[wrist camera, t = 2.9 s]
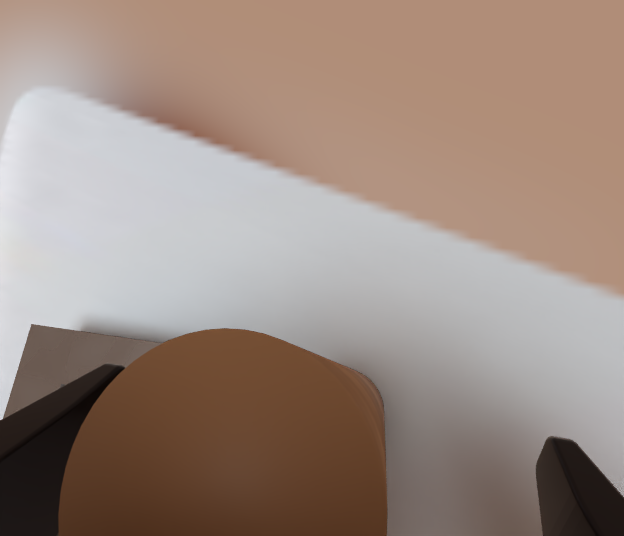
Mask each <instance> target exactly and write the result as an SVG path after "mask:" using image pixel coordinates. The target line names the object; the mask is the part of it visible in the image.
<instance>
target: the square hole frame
mask: <svg viewBox="0 0 624 536" xmlns="http://www.w3.org/2000/svg"><path fill="white" fill-rule="evenodd" d="M160 344H162V343H157V342H150V341H143V340H136V339H129V338H123V337H116V336H109V335H102V334H95V333H88V332H82V331H75V330H68V329H61V328H54V327H47V326H40V325H34V324H31V328H30V331H29V334H28V338H27V341H26V344H25V348H24V351H23V354H22V357H21V361H20V364H19V367H18V371H17V374H16V377H15V381H14V384H13V387H12V391H11V394H10V397H9V401H8V404H7V407H6V411H5V414H4V417H3V419H4V418H6V417H7V416H9V415H11V414H13V413H15V412H17V411H18V410H20V409H22V408H24V407H26V406H28V405H29V404H31V403H33V402H35V401H37V400H39V399H41V398H42V397H44V396H46V395H48V394H50V393H52V392H53V391H55V390H57V389H59V388H61V387H63V386H64V385H66V384H68V383H70V382H72V381H74V380H76V379H77V378H79V377H81V376H83V375H85V374H87V373H88V372H90V371H92V370H94V369H96V368H98V367H99V366H101V365H103V364H106V363H113V364H119V365H123V366H124V367H125V368H126V367H127V366H129V365H130V364H131V363H132V362H133V361H134V360H136V359H137V358H139V357H140V356H142V355H143V354H145V353H146V352H148V351H149V350H151V349H153V348H155V347H156V346H158V345H160ZM57 536H59V533H58V535H57Z"/></svg>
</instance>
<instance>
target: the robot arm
mask: <svg viewBox="0 0 624 536" xmlns="http://www.w3.org/2000/svg"><path fill="white" fill-rule="evenodd" d="M124 369H125V367H124V366H123V365H119V364H113V363H106V364H103V365H101V366H99V367H98V368H96V369H94V370H92V371H90V372H88V373H87V374H85V375H83V376H81V377H79V378H77V379H76V380H74V381H72V382H70V383H68V384H66V385H64V386H63V387H61V388H59V389H57V390H55V391H53V392H52V393H50V394H48V395H46V396H44V397H42V398H41V399H39V400H37V401H35V402H33V403H31V404H29V405H28V406H26V407H24V408H22V409H20V410H18V411H17V412H15V413H13V414H11V415H9V416H7V417H6V418H4V419H2V420H0V536H57V535H58V533H59V517H58V514H59V504H60V494H61V487H62V482H63V477H64V473H65V468H66V465H67V461H68V458H69V455H70V452H71V449H72V446H73V444H74V441H75V439H76V437H77V434H78V432H79V430H80V428H81V425H82V424H83V422H84V420H85V418H86V417H87V415H88V413H89V411H90V410H91V408H92V406H93V405H94V403H95V402H96V401H97V399H98V398H99V397H100V395H101V394H102V392H103V391H104V390H105V389H106V387H107V386H108V385H109V384H110V383H111V382H112V381H113V380H114V379H115V378H116V377H117V375H118V374H119V373H121V372H122V371H123V370H124ZM536 480H537V488H538V497H539V506H540V514H541V523H542V531H543V536H624V497H623V496H622V495H621V494H620V492H619V491H618V490H617V489H616V488H615V487H614V486H613V484H612V483H611V482H610V481H609V480H608V479H607V478H606V476H605V475H604V474H603V473H602V472H601V471H600V470H599V468H598V467H597V466H596V465H595V464H594V463H593V462H592V460H591V459H590V458H589V457H588V456H587V455H586V454H585V452H584V451H583V450H582V449H581V448H580V447H579V446H578V444H577V443H575V442H574V441H573V440H571V439H566V438H560V437H554V436H550V437H548V438H547V440H546V442H545V444H544V446H543V449H542V451H541V454H540V456H539V458H538V461H537V464H536Z"/></svg>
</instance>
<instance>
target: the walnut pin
mask: <svg viewBox="0 0 624 536" xmlns="http://www.w3.org/2000/svg"><path fill="white" fill-rule="evenodd" d="M58 517H59V536H387V484H386V452H385V421H384V405H383V401H382V398H381V395H380V393H379V391H378V389H377V388H376V386H375V385H374V384H373V383H372V381H371V380H370V379H368V378H367V377H366V376H365V375H363V374H361V373H359V372H357V371H355V370H353V369H350V368H348V367H345V366H343V365H341V364H338V363H336V362H333V361H331V360H329V359H326V358H324V357H321V356H319V355H317V354H314V353H312V352H310V351H307V350H305V349H302V348H300V347H298V346H295V345H293V344H290V343H288V342H286V341H283V340H280V339H278V338H275V337H272V336H269V335H266V334H263V333H258V332H254V331H249V330H242V329H227V328H224V329H210V330H203V331H198V332H193V333H189V334H185V335H182V336H179V337H177V338H174V339H171V340H168V341H166V342H164V343H162V344H160V345H158V346H156V347H155V348H153V349H151V350H149V351H148V352H146V353H145V354H143V355H142V356H140V357H139V358H137V359H136V360H134V361H133V362H132V363H131V364H130V365H129V366H127V367H126V368H125V369H124V370H123V371H122V372H121V373H119V374H118V375H117V377H116V378H115V379H114V380H113V381H112V382H111V383H110V384H109V385H108V386H107V387H106V389H105V390H104V391H103V392H102V394H101V395H100V397H99V398H98V399H97V401H96V402H95V403H94V405H93V406H92V408H91V410H90V411H89V413H88V415H87V417H86V418H85V420H84V422H83V424H82V425H81V428H80V430H79V432H78V434H77V437H76V439H75V441H74V444H73V446H72V449H71V452H70V455H69V458H68V461H67V465H66V468H65V473H64V477H63V482H62V487H61V494H60V504H59V514H58Z"/></svg>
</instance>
